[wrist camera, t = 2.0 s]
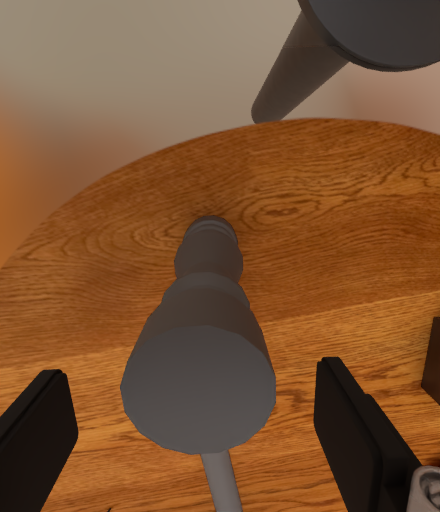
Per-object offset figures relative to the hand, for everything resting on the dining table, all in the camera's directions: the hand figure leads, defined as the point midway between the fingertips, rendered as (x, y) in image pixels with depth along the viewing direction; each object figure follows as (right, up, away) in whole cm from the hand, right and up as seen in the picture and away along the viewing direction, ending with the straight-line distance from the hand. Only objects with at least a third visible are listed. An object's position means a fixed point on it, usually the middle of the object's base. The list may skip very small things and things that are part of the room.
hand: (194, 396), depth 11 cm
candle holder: (0, +7, +24) cm, 25 cm away
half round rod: (+1, -30, +35) cm, 46 cm away
